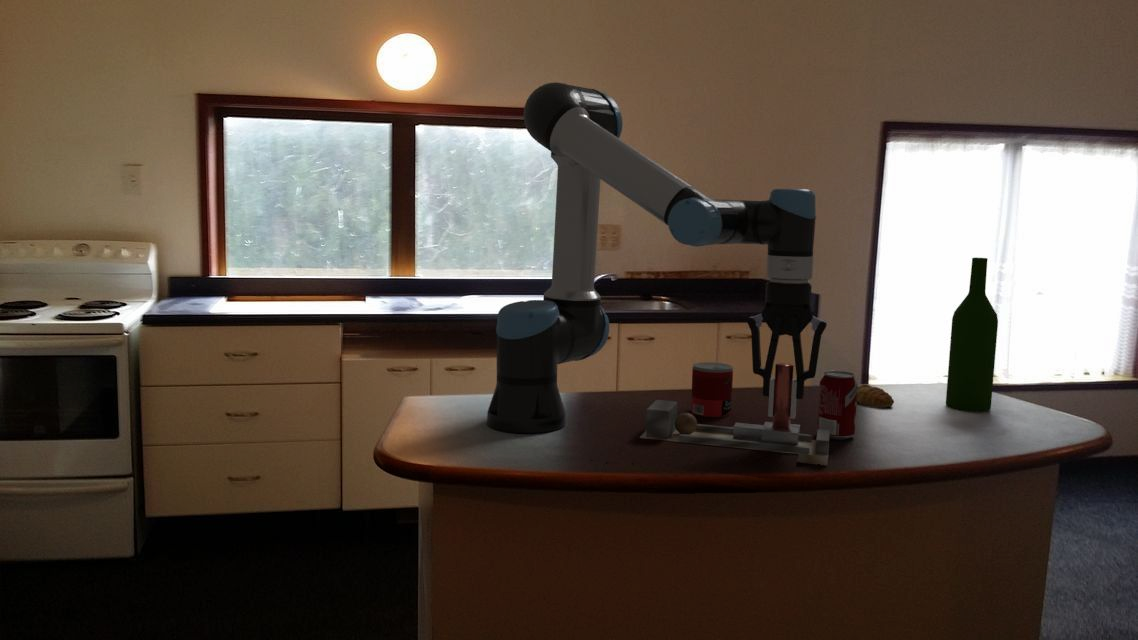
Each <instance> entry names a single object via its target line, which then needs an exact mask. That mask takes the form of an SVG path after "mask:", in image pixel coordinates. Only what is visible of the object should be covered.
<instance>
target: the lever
mask: <svg viewBox="0 0 1138 640" xmlns="http://www.w3.org/2000/svg"><path fill="white" fill-rule="evenodd" d="M794 366H795V364H792V363H784V362H783V363H782V362H779V363H775V370H774V377H775V387H774V407H773V417H772V421H765V422H764V424H756V423H755V424H754V423H753V424H752V423H746V422H745V423H743V422H735V424H734V425H733V427H734V430H733V439H736V440H746V441H757V442H767V443H777V444H787V445H797V446H798V445H799V436H800V434H801V424H796V423H795V424H794V423H791V419H790V413H791V394H792V380H793V378H794Z"/></svg>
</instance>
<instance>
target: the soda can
mask: <svg viewBox="0 0 1138 640" xmlns="http://www.w3.org/2000/svg"><path fill="white" fill-rule="evenodd" d="M855 377H856V375H855V373H853V372H850V371H843V370H826V371H824V372H823V376H822V378H821V379H820V380H819V391H818V407H817V408H818V409H817V426H816V432H818V428H819V429H830V436H829V440H834V439H835V441H838V440H839V441H841V440H842V441H843V440H844V441H845V440H848V439H850V438H853V437H854V436H855V434H856V421H857V420H856V419H857V405H858V403H857V402H858V401H857V390H858V387H859V386H858V385H859V384H858V382H857V380H856V378H855Z"/></svg>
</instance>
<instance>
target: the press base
mask: <svg viewBox="0 0 1138 640" xmlns="http://www.w3.org/2000/svg"><path fill="white" fill-rule="evenodd" d="M678 404H679V402H678V401H676V400H675V401H674V400H661V399H656V400H655V401H653V403H652V404H651V405H650V406H648V407H647V408H646V427H645V431H644V432H643V433H642V434H641V435H640V436H639V439H647V440H648V439H649V440H655V441H656V440H659V441H665V442H666V441H667V442H677V443H687V444H698V445H708V446H718V447H726V448H735V449H736V448H737V449H748V450H756V451H763V452H765V451H766V452H776V453H783V454H784V453H786V454H793V455H794V454H795V455H796V454H797V460H796V463H799V462H800V464H809V465H818V464H820V466H828V464H829V463H828V459H829V451H830V449H829V448H830V439H829V436H830V429H819V428H818V432H817V431H816V432H817V433H816V439H813V438H812V437H813V436H812V434H809V433H808V434H807V433H806V434H805V433H800V436H799V445H798V446H797V445H787V444H777V443H767V442H757V441H746V440H736V439H733V430H734V426H732V427H731V426H724V425H723V426H722V425H713V424H701V423H697V427H696V430H695V431H694V432H693V433H692V434H689V435H686V434H680V433H679V432H678V431H677V430H676V428H675V419H676V417H677V416H678V409H679V406H678Z"/></svg>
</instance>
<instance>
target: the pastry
mask: <svg viewBox="0 0 1138 640" xmlns="http://www.w3.org/2000/svg"><path fill="white" fill-rule="evenodd" d="M857 402H858V404H860V405H864V406H867V407H872V408H881V409H883V408H887V407H891V408H892V407H893V405H894V403H895V401H894V399H893V397H892V395H890V394H889V393H888V392H886V391H885V390H884V389H882V388H881V387H877V386H871V385H868V384H866V383H865V384H860V385H859V386H858V390H857Z"/></svg>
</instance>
